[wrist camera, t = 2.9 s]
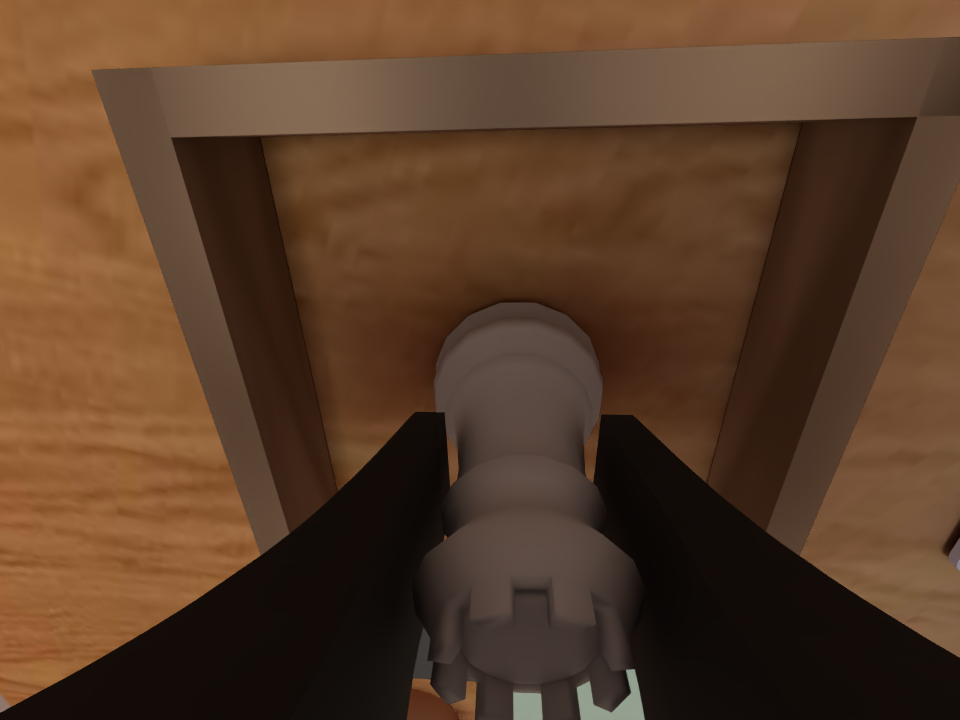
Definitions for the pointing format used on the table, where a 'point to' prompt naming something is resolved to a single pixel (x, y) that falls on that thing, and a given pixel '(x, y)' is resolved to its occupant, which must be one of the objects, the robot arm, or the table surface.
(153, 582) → the table surface
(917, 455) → the table surface
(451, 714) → the peach short cylinder
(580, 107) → the cubby
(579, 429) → the rook chess piece
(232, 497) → the table surface
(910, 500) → the table surface
